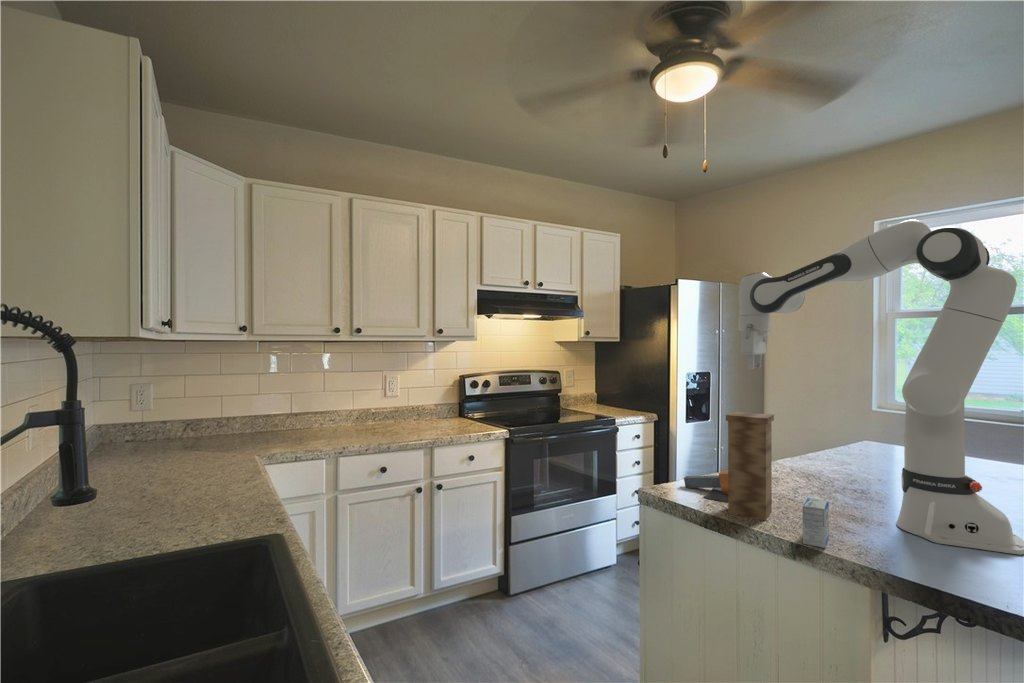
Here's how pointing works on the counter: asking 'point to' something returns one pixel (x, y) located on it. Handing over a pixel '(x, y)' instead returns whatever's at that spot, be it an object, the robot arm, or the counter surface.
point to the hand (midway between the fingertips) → (754, 369)
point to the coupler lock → (708, 481)
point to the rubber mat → (717, 495)
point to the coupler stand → (749, 464)
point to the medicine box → (815, 522)
